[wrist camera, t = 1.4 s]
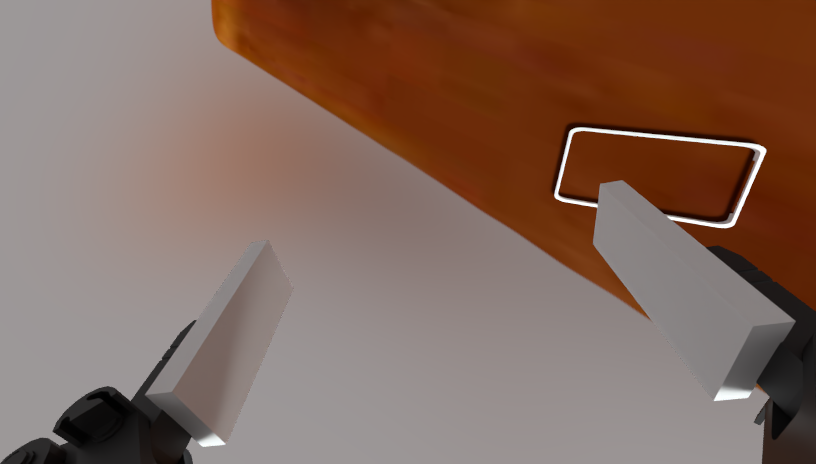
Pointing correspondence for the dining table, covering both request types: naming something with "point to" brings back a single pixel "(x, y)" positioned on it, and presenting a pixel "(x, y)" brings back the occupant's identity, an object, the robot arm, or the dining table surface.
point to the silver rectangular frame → (758, 149)
